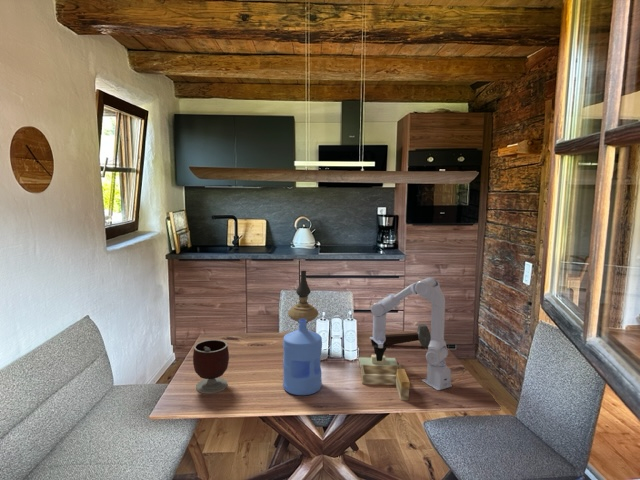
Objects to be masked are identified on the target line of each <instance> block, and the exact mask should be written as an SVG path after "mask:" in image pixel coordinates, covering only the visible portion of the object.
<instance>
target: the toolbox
mask: <svg viewBox="0 0 640 480" xmlns="http://www.w3.org/2000/svg"><path fill="white" fill-rule="evenodd" d="M397 369H402V366H401V364H398V365H363V364H361V369H360V375H361V376H360V377H361V381H362V385H381V386H382V385H383V386H386V385H387V386H395V387H396V391H397V393H398V397H399V399H400V401H409V400H410V399H409V398H410V396H409V394H410V387H409V388H401V385H400V383H399V380H398V377H397Z"/></svg>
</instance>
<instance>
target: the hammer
mask: <svg viewBox="0 0 640 480" xmlns="http://www.w3.org/2000/svg"><path fill="white" fill-rule="evenodd" d="M371 337H373V335H372V336H371ZM385 338H386V340H385V342H384V343H383V346H386V347H387V346H392V345H399V344H404V343H410V342H417V341H419V343H420V345H421V347H422V348H428V346H429V344H430V341H431V331H430V330H429V327H428V326H427V324H426V323H423V324H418V326H417V329H416V332H413V333H409V332H408V333H394V334H393V333H391V334H390V333H389V334H385ZM370 343H371V345H372V347H374V346H373V342H372V340H370Z"/></svg>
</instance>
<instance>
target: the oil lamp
mask: <svg viewBox="0 0 640 480" xmlns="http://www.w3.org/2000/svg"><path fill="white" fill-rule="evenodd" d="M295 291H296V292H295V293H296V294H297V295H298V301H295V304H294V305H293V306H292V307H291V308H290V309H289V310H288V311H287V315H288V317H289V318H290V319H291V320H293V321H294V322H297V323H298V324H299V319H306V320H307V321H306V324H307V325H308V323H309V322H311V321H314V320H315V319H316V318H317V317H318V316H319V314H320V313H319V311H318V309H317V308H316V307H315V306H314V305H313V304H311V303H309V302H308V298H309V295H310V294H311V291H312V290H311V289H310V287H309V285H308V281H307V271H306V270H301V271H300V281H299V285H298V286H297V289H296V290H295ZM307 330H309V329H308V328H307Z"/></svg>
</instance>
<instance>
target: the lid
mask: <svg viewBox="0 0 640 480" xmlns="http://www.w3.org/2000/svg"><path fill="white" fill-rule="evenodd" d="M358 364H359V368H360V370H361V364H363V365H399V364H398V362H397V359H396V357H386V355H385V354H383V358H382V361H377V359H376V354H371V356H370V357H360V356H359V357H358Z"/></svg>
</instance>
